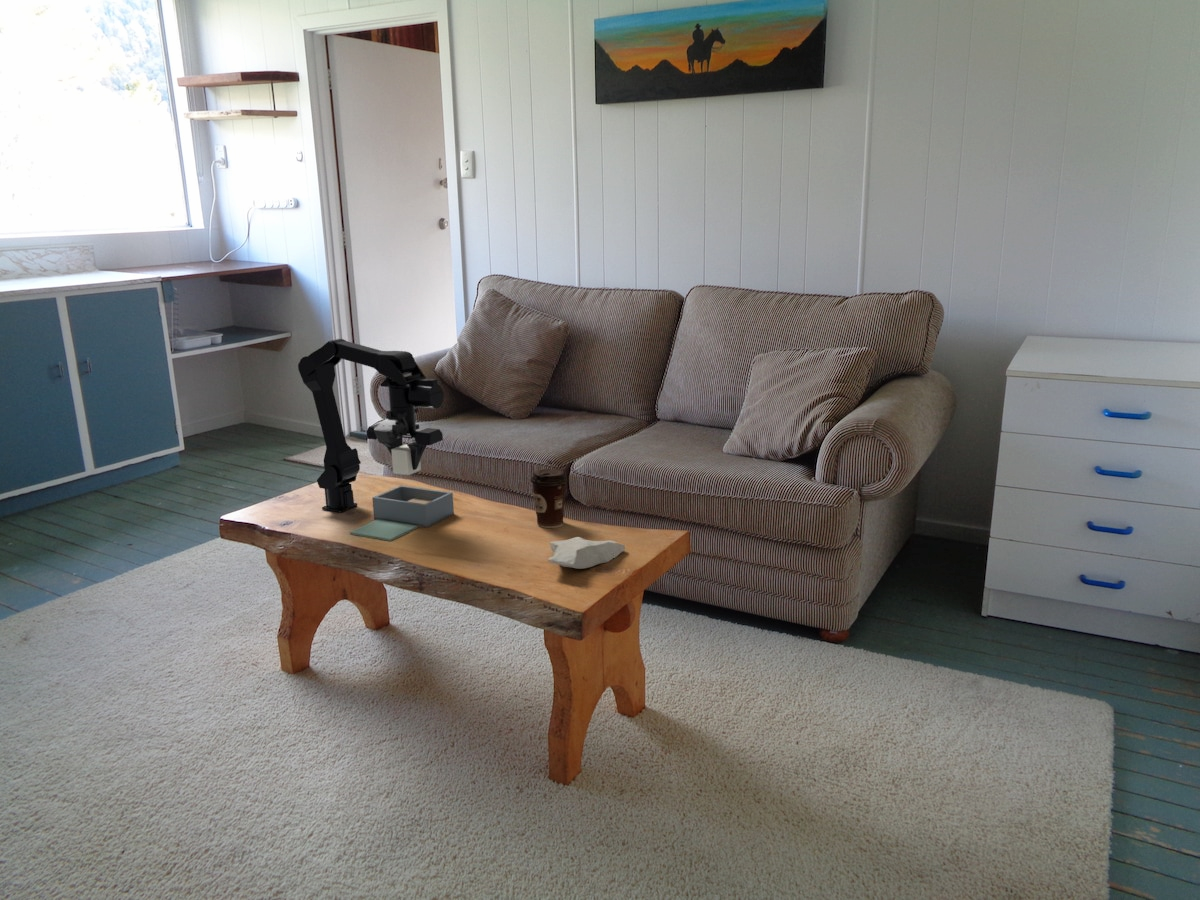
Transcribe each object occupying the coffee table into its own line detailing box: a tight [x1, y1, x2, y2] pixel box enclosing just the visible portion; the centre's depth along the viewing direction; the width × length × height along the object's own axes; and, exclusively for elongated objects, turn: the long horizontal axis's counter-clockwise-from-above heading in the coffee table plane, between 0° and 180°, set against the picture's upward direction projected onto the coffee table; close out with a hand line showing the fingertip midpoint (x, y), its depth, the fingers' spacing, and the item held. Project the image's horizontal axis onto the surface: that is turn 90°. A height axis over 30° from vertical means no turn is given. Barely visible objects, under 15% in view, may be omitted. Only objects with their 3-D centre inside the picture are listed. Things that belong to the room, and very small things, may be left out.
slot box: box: [372, 485, 455, 528], centre depth 226 cm, size 16×11×6 cm
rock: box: [547, 536, 626, 570], centre depth 196 cm, size 21×5×15 cm
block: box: [391, 443, 422, 476], centre depth 222 cm, size 4×5×6 cm
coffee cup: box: [529, 468, 568, 529], centre depth 217 cm, size 9×8×13 cm
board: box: [349, 519, 419, 542], centre depth 217 cm, size 12×10×1 cm
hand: (406, 468), depth 222 cm, fingers closed on block, 4 cm apart
